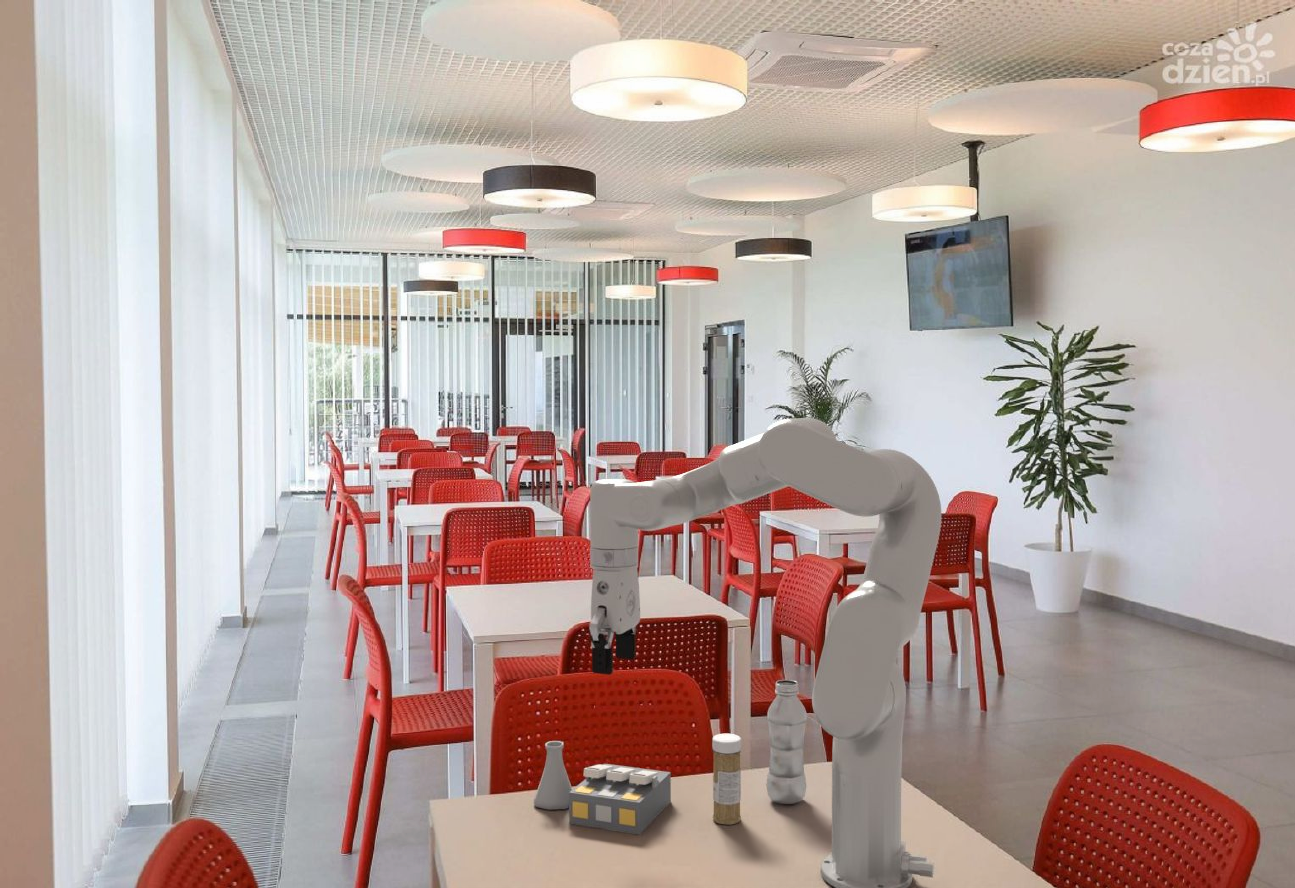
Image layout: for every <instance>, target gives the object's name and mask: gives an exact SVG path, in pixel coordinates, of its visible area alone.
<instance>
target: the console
mask: <svg viewBox="0 0 1295 888" xmlns="http://www.w3.org/2000/svg"><path fill="white" fill-rule="evenodd" d="M602 765H608V766H613V770H614V769H617V768H620V767H623V768H630V769H636V770H635V773H637V772H640V771H643V770H645V771H653V772H658V780H657V776H654V777H653V778H652V782H651V783H648V784H645V785H643V784H636V783H629V780H630V775H631V774H634V773H631V774H630V775H629V779H627V780H624V781H614V780H607V779H606V776H607V772H606V776H604V777H601V778H592V777H585V779H583V781H581V782H580V783H579V784H577V785H576V786H575V787H574V788H572V789H573V790H571V791H570V792H569V807H568V815H569V819H568V820H569V823H568V824H571V825H577V826H582V827H583V826H584V827H589V828H595V829H602V830H609V831H614V832H615V831H616V832H621V833H628V834H634V835H639V836H640V835H641V834H643V831H645V830H646V828H648V826H649V825H651V823H652V822H653V821H654V820H655V819H656V818H657V817H658V816H659V815H660V814H661V813H662V811H664V809H666V807H668V805H669V804H670V803H671V802H672V801H671V798H672V797H671V795H672V794H671V790H672V789H671V787H672V786H671V784H672V783H671V782H672V781H671V778H672V777H671V776H672V775H671V771H665V770H662V771H661V770H658V769H657V770H656V769H650V768H649V769H648V768H647V769H646V768H640V767H633V766H625V765H617V764H610V763H609V764H608V763H603V764H602ZM608 771H610V769H609V770H608Z"/></svg>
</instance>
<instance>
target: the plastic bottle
mask: <svg viewBox="0 0 1295 888" xmlns="http://www.w3.org/2000/svg"><path fill="white" fill-rule="evenodd" d="M774 694H775V695H776V697H775V698H774V700H772V702H771V704H770V706H769V707H768V710H767V724H768V729H769V743H770V754H769V755H770V758H769V768H768V774H767V778H766V790H767V791H766V792H767V796H768V797H769V798H770V800H771V801H773V802H774V803H778V804H782V805H792V804H793V805H794V804H797V803H800V802H802V800H803V799H804V798H805V796H806V792H807V786H808V785H807V780H806V774H805V766H804V740H805V739H804V738H805V731H806V725H807V717H808V715H807V711H806V708H805V706H804V705H803V703H802V701H801V700H800V699H799V698H798V695H799V694H800V693H799V683H798V682H797V680H791V679H780V680H777V681H776V682H775V690H774Z"/></svg>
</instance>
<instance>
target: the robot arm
mask: <svg viewBox="0 0 1295 888" xmlns="http://www.w3.org/2000/svg"><path fill="white" fill-rule="evenodd" d="M787 487H790V488H792V489H794V490H796V491H798V492H801V493H802V494H804V495H807V496H809V497H812V498H813V499H816V500H817V501H819V502H822V503H823V504H824V503H825V504H826V505H829V506H830V507H833V508H835V509H837V510H840V511H842V512H844V513H847V514H850V515H852V516H857V517H861V518H862V517H863V518H864V517H867V518H869V517H874V516H878V518H879V519H878V526H877V528H876V531H875V534H874V537H873V539H872V541H871V546H870V548H869V552H868V558H867V562H866V565H865V570H864V573H863V575H862V579H861V582H860V584H859V586H858V587H857V588H856V589H855V590H854V591H851V592H850V593H849V594H847V595H846V596H845V597H844V598H842V599H841V601H840V602H839V604H838V605H836V608H835V610H834V612H833V613H832V616H831V619H830V621H829V623H828V624H829V625H828V628H827V632H826V637H825V640H824V644H823V647H822V651H821V655H820V659H819V662H818V667H817V671H816V676H815V679H814V682H813V689H812V696H811V703H812V704H811V705H812V709H813V713H814V716H815V718H816V720H817V722H818V724H819V725H820V727H821V728H822V729H823V730H824V731H825V732H826V733H828V735H831V736H832V737H833V738H832V752H831V753H832V758H831V759H832V760H831V761H832V762H831V853H829V854H828V855H827V856H825V857H824V858H823V859H822V860H821V863H820V875H821V877H822V878H823V880H824V881H825V882H827V883H828V884H829V885H831V886H832V887H834V888H909V887H910V886H911V885H912V883H913V875H917V876H920V877H925V878H934V872H935V871H934V869H935V863H934V862H931V861H927V860H928V858H927V856H926V855H921V854H910V852H909V851H907V850H906V844H907V843H906V841H904V840H903V841H902V770H903V769H902V768H903V765H902V764H903V763H902V762H903V760H902V757H903V732H904V723H905V714H906V713H905V711H906V703H907V702H906V701H907V689H906V681H905V676H904V675H903V672H902V670H901V669H900V666H899V665H898V664H897V662H896V661H897V659H898V658H897V657H898V655H899V651H900V649H901V648H903V647H904V646H905V645H907V643H909V642H910V641H911V639H913V637H914V635H915V634H916V633H917V632H916V631H917V629H918V627H919V622H920V617H921V612H922V608H923V605H924V604H923V603H924V599H925V596H926V592H927V588H928V585H929V584H928V583H929V581H930V576H931V572H932V571H931V570H932V567H933V563H934V559H935V554H936V551H937V546H938V542H939V537H940V534H941V533H940V532H941V526H942V503H941V499H940V495H939V492H938V489H937V486H936V484H935V482H934V481H933V479H932V476H930V474H929V472H928V471H926V470H925V468H924V467H923V466H922V465H921V464H920V463H918V461H916V460H915V459H914V458H912V457H911V456H909V455H908V454H906V453H904V452H902V451H899V450H895V449H891V448H888V449H887V448H881V449H880V448H879V449H874V450H867V451H864V450H863V449H860V448H857V447H854V446H852V445H850V444H847V443H844V442H842V441H840V440H838V439H837V436H836V435H835V432H834V431H833V430H832V428H831V427H830V426H829V425H828V424H827V423H825V422H824V421H822V420H820V419H817V418H813V417H801V418H800V417H799V418H786V419H781V420H778V421H776V422H775V423H772V424H771V425H770V426H768V427H767V429H766V430H765V431H764V432H763V433H761V434H758V435H756V436H752V437H750V438H748V439H744V440H742V441H739V442H737V443H735V444H732V445H729V446H726V447H725V448H724V449H722V450H721V451H720V453H719V457H717V458H716V459H715V460H713V461H710V462H709V463H707V464H705V465H701V466H700V467H698V468H695V469H692V470H690V471H687V472H685V473H682V474H678V475H676V476H672V477H667V478H666V477H665V478H658V479H654V480H647V481H641V482H635V481H633V480H631V479H626V478H624V479H623V478H605V479H598V480H595V481H594V482H593V483H592V484H591V486H590V492H589V493H590V496H589V497H590V499H589V501H590V502H589V504H590V505H589V506H590V507H589V509H590V510H589V511H590V513H589V515H590V519H589V520H590V521H589V524H590V525H589V526H590V529H589V530H590V531H589V532H590V533H589V535H590V536H589V537H590V548H589V549H590V551H589V553H590V556H589V557H590V558H589V559H590V565H589V567H590V568H591V569H593V573H592V581H591V582H592V583H591V585H592V586H591V599H590V600H591V601H590V602H591V603H590V622H589V625H588V626H589V631H590V632H589V633H590V635H589V636H590V640H591V642H590V645H591V646H590V647H591V648H592V649H591V653H592V655H591V659H592V660H591V662H592V663H591V664H592V669H591V671H592V673H594V674H600V675H612V674H613V672H614V652H613V651H614V647H611V646H612V642H613V639H614V634H615V657H616V658H617V659H624V660H634V659H635V658H636V633H637V625H638V624H639V623H640V621H641V598H640V597H641V596H640V582H639V574H638V573H639V572H638V568H639V531H645V532H646V531H647V532H652V531H659V530H661V529H666V528H669V527H674V526H677V525H683V524H686V523H689V522H691V521H694V520H696V519H699V518H702V517H705V516H708V515H710V514H713V513H716V512H719V511H721V510H724V509H726V508H729V507H731V506H735V505H742V504H744V503H747V502H749V501H752V500H755V499H758V498H761V497H763V496H766V495H767V494H770V493H773V492H777V491H779V490H782V489H785V488H787ZM605 635H606V637H605Z"/></svg>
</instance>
